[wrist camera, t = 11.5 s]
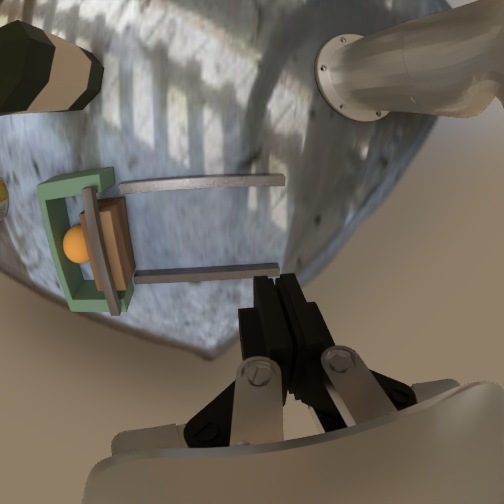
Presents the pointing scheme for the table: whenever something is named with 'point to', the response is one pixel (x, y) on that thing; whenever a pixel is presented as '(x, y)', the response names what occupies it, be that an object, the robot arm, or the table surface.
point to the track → (203, 182)
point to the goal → (57, 225)
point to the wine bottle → (44, 72)
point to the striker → (107, 244)
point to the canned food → (3, 199)
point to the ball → (75, 245)
